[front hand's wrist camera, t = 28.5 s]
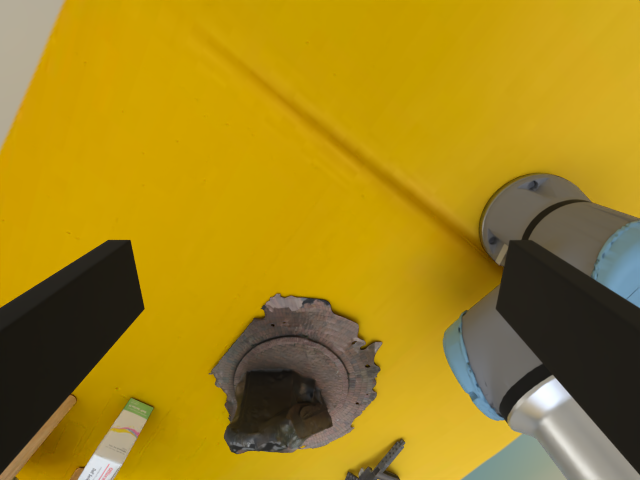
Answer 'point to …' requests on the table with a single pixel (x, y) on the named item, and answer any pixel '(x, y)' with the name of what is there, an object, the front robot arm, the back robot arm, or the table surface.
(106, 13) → the table surface
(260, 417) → the sculpture
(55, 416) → the planter
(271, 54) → the table surface
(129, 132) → the table surface
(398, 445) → the toy gun
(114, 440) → the ink box
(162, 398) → the table surface
